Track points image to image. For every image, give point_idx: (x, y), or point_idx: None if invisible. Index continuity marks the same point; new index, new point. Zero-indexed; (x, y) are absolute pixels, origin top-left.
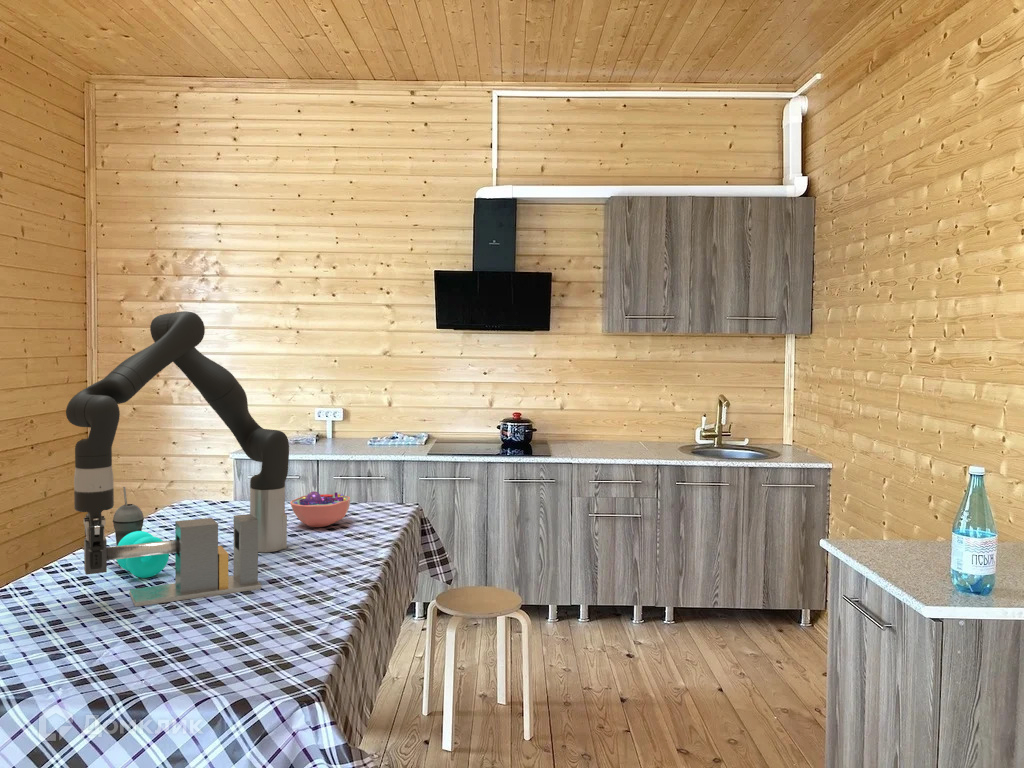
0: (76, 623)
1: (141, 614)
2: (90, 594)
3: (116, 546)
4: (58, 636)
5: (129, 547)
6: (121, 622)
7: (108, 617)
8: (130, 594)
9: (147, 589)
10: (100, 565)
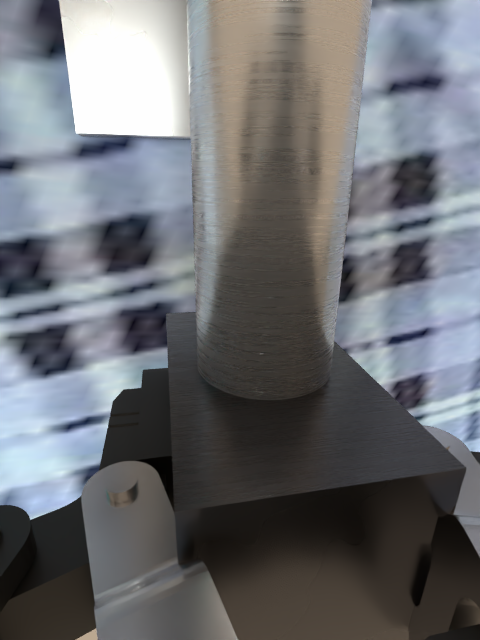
0: (382, 358)
1: (426, 132)
2: (23, 315)
3: (287, 285)
4: (461, 397)
5: (353, 116)
6: (464, 220)
7: (384, 259)
8: (128, 136)
9: (118, 26)
10: None
